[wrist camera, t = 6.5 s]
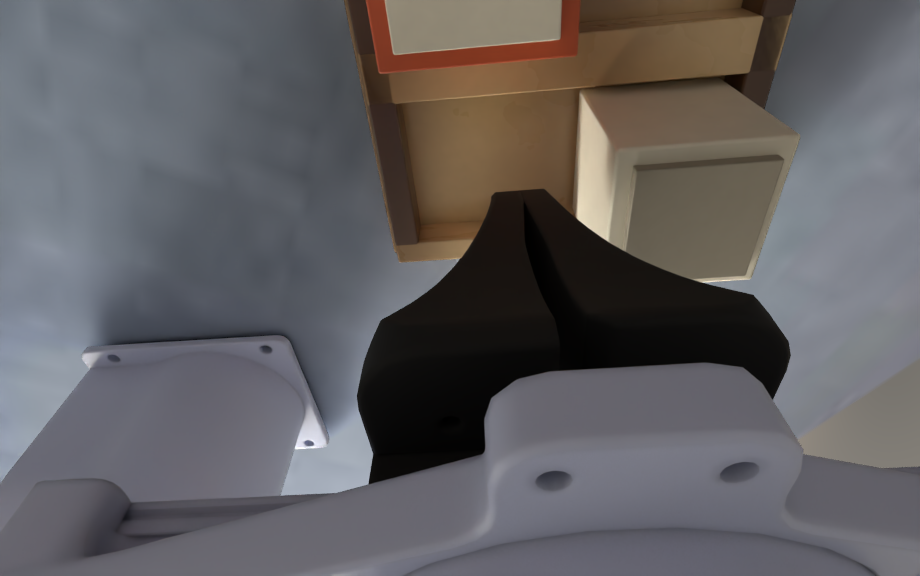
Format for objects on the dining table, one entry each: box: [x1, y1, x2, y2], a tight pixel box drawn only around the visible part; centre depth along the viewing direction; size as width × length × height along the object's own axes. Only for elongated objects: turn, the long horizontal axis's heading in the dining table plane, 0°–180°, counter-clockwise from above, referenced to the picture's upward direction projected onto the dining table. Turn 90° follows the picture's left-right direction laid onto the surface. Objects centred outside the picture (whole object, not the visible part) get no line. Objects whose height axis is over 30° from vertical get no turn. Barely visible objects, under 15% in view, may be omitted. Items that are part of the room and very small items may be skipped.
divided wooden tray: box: [344, 0, 796, 262], centre depth 14 cm, size 12×13×2 cm
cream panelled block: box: [572, 77, 800, 282], centre depth 14 cm, size 4×4×5 cm
